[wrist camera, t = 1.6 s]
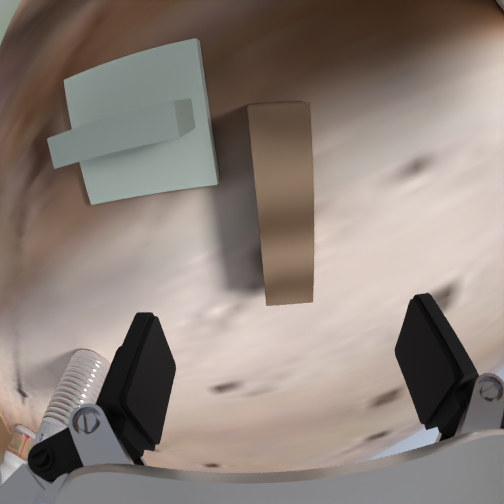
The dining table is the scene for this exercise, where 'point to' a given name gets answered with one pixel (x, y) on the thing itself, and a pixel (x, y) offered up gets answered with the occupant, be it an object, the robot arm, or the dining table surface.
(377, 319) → the dining table surface
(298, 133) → the walnut bar
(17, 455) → the fruit juice
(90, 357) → the water bottle
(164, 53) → the block
